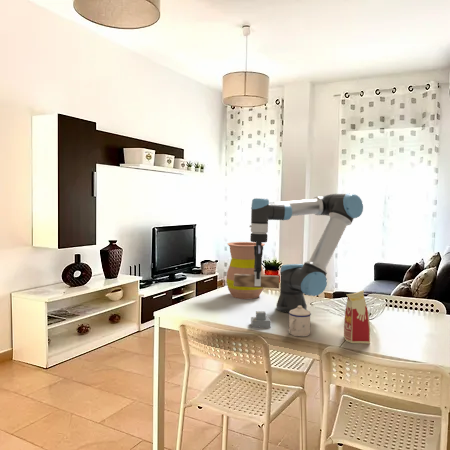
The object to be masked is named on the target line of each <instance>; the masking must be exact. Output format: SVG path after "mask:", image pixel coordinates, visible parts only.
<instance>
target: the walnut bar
mask: <svg viewBox="0 0 450 450" xmlns="http://www.w3.org/2000/svg"><path fill="white" fill-rule="evenodd" d="M280 278H281V276H279V275H273V274H272V275H271V274H268V275H267V274H264V275H261V286H254V284H255V275H253V274H234V286H239V287H260V288H263V289H264V288H265V289H280Z"/></svg>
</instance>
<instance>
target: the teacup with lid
mask: <svg viewBox="0 0 450 450" xmlns="http://www.w3.org/2000/svg"><path fill="white" fill-rule="evenodd" d="M311 316H312V313H311V311H310V310H308V309H307V310H305V309H304V308H302V306H300V305H299V306H298V308H295V309H293V310H290V311H289V313H288V317H289V318H288V333H289V334H290V335H292V336H295V337H308V336H309V335H311Z"/></svg>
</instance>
